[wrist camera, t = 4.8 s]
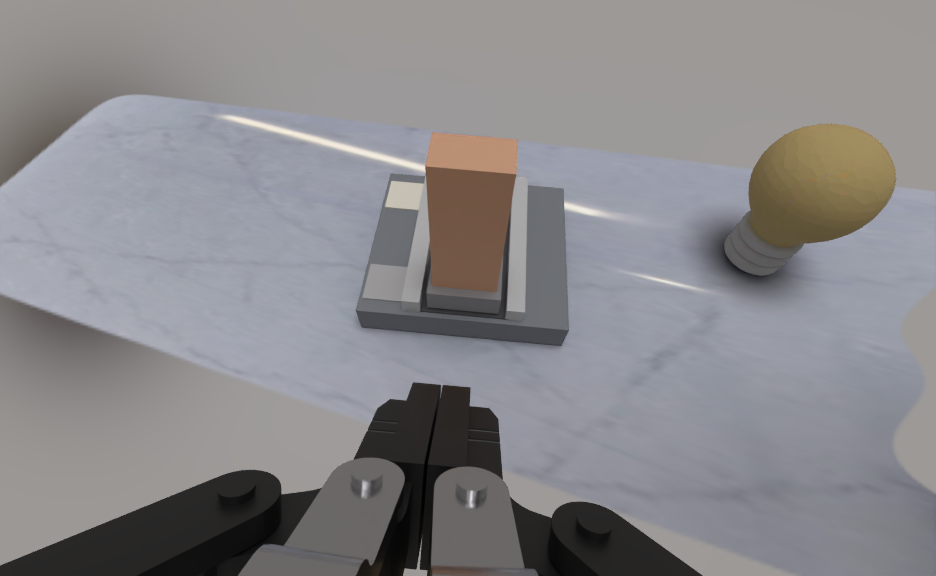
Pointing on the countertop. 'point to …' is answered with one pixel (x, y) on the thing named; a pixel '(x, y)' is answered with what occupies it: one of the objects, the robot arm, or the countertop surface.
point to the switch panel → (523, 277)
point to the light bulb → (810, 194)
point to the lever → (468, 219)
